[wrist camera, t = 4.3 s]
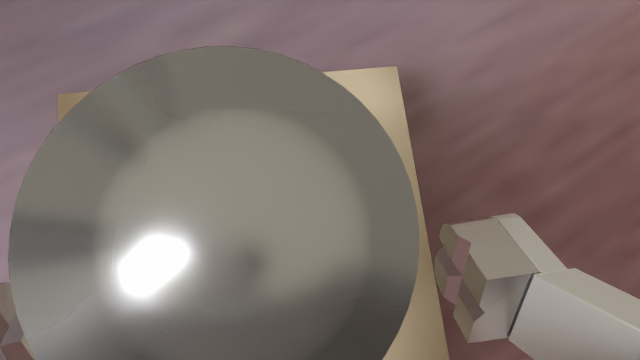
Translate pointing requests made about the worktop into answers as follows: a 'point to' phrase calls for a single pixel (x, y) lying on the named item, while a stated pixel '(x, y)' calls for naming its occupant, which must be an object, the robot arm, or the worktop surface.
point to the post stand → (388, 108)
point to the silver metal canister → (215, 218)
